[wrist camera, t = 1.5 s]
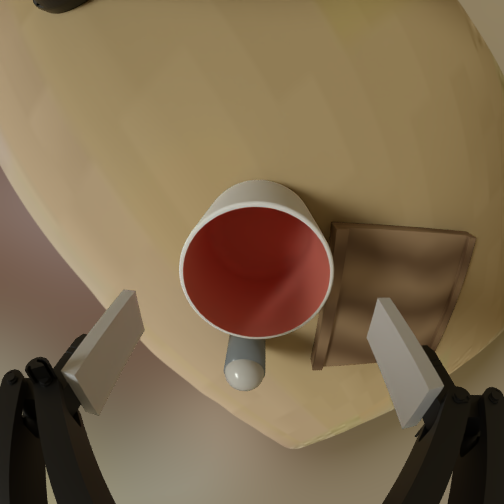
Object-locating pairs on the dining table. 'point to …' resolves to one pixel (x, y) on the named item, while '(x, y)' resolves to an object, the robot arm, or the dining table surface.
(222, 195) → the cup
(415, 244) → the board
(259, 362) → the shaker
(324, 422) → the dining table surface
